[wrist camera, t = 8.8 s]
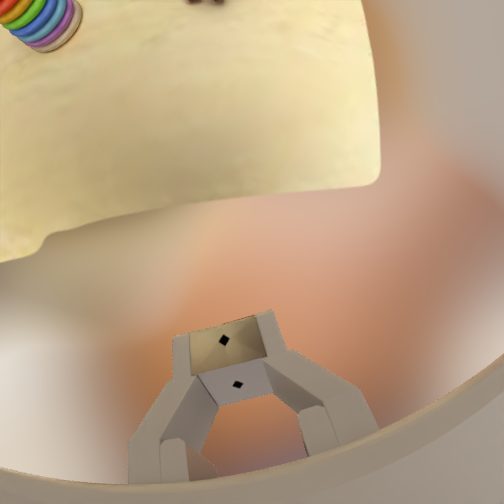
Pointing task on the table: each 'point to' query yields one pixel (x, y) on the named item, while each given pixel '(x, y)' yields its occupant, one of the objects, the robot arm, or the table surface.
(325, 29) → the table surface
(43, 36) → the stacking toy
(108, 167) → the table surface
